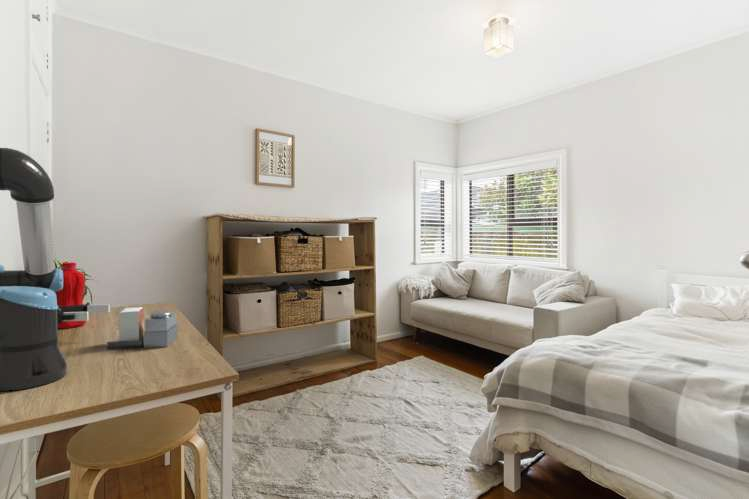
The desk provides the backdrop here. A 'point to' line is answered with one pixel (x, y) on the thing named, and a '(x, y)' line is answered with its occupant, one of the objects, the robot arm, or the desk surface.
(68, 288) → the water bottle
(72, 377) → the desk surface
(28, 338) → the robot arm
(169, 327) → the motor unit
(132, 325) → the small box
